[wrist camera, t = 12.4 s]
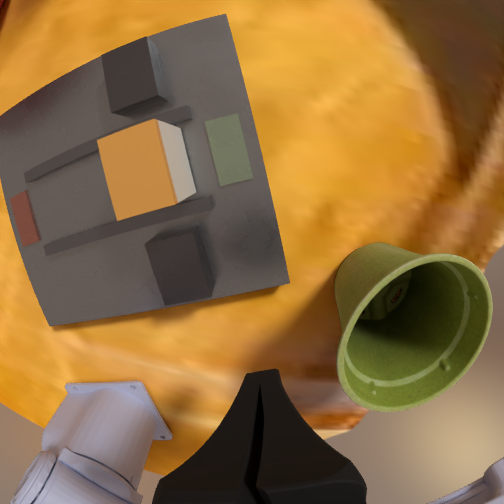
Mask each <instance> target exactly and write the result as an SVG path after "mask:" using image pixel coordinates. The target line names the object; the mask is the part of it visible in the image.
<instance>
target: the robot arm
mask: <svg viewBox="0 0 504 504" xmlns="http://www.w3.org/2000/svg"><path fill="white" fill-rule="evenodd" d="M133 386H135V387H133ZM65 389H66V390H67V392H68V394H67V396H66V397H65V399H64V400H63V402H62V403H61V405H60V406H59V408H58V409H57V411H56V412H55V414H54V415H53V417H52V418H51V420H50V421H49V423H48V424H47V426H46V427H45V429H44V432H43V437H42V450H43V451H41V452H40V453H39V454H38V455H37V456H36V458H35V459H34V460H33V462H32V463H31V465H30V466H29V468H28V469H27V471H26V472H25V474H24V476H23V477H22V479H21V481H20V483H19V485H18V487H17V489H16V491H15V493H14V497H13V499H12V500H11V502H10V504H141V502H142V498H143V496H142V495H140V494H138V493H137V488H138V485H139V481H140V479H141V475H142V472H143V469H144V466H145V463H146V460H147V457H148V453H149V450H150V447H151V444H152V441H153V440H171V439H172V437H173V435H172V433H171V432H170V430H169V428H168V427H167V425H166V423H165V422H164V420H163V418H162V417H161V415H160V413H159V411H158V410H157V408H156V406H155V404H154V403H153V401H152V399H151V397H150V395H149V394H148V392H147V390H146V388H145V386H144V384H143V383H142V382H140V381H124V382H101V383H67V384H66V385H65ZM366 493H367V487H366V483H365V481H364V479H363V477H362V476H361V474H360V473H359V471H358V470H357V468H356V467H355V466H354V465H353V463H352V462H351V461H350V460H349V459H348V458H346V457H344V456H343V455H342V454H340V453H339V452H337V451H336V450H335V449H333V448H332V447H331V446H330V445H328V444H327V443H326V442H325V441H324V440H323V439H322V438H321V437H320V436H319V435H317V434H316V433H315V432H314V431H313V429H312V428H311V427H310V426H309V425H308V424H307V423H306V422H305V420H304V419H303V418H302V417H301V415H300V414H299V413H298V411H297V410H296V408H295V407H294V405H293V404H292V402H291V401H290V399H289V397H288V395H287V393H286V392H285V390H284V388H283V385H282V382H281V378H280V374H279V370H277V369H270V370H265V371H259V372H253V373H247V374H246V376H245V378H244V380H243V383H242V385H241V387H240V390H239V392H238V394H237V396H236V398H235V400H234V402H233V404H232V405H231V407H230V409H229V411H228V412H227V414H226V416H225V417H224V419H223V420H222V422H221V423H220V425H219V426H218V428H217V429H216V430H215V432H214V433H213V434H212V435H211V437H210V438H209V439H208V440H207V441H206V442H205V443H204V445H203V446H202V447H201V448H200V449H199V450H198V451H197V452H196V453H195V454H194V455H193V456H191V457H190V458H189V459H188V460H187V461H186V462H184V463H183V464H182V465H181V466H179V467H178V468H177V469H175V470H174V471H172V472H171V473H169V474H168V475H166V476H165V477H163V478H162V479H160V480H159V483H158V485H157V488H156V490H155V494H154V497H153V501H152V504H366ZM428 504H504V457H503V458H502V459H500V460H498V461H497V462H495V463H494V464H492V465H491V466H490V467H489V468H488V469H487V470H486V472H485V473H484V476H483V477H482V478H480V479H478V480H476V481H474V482H473V483H471V484H469V485H467V486H465V487H463V488H461V489H459V490H457V491H455V492H453V493H450V494H448V495H446V496H444V497H442V498H439V499H437V500H435V501H432V502H430V503H428Z"/></svg>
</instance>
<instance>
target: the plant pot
mask: <svg viewBox="0 0 504 504" xmlns="http://www.w3.org/2000/svg"><path fill="white" fill-rule="evenodd" d="M400 288H401V293H400V295H399V297H398V298H397V299H396V301H394V302H393V303H391V300H392V299H393V298H394V296H395V295H396V294H397V292H398V291H399V289H400ZM334 292H335V298H336V303H337V308H338V312H339V317H340V323H341V328H342V334H341V337H340V340H339V344H338V349H337V356H336V368H337V374H338V378H339V381H340V384H341V386H342V388H343V390H344V392H345V393H346V394H347V395H348V397H349V398H350V399H351V400H353V401H354V402H355V403H356V404H358V405H360V406H361V407H364V408H366V409H370V410H373V411H378V412H397V411H402V410H408V409H411V408H414V407H417V406H420V405H423V404H425V403H427V402H429V401H431V400H433V399H435V398H436V397H438V396H439V395H441V394H442V393H444V392H445V391H447V390H448V389H449V388H451V387H452V386H453V385H454V384H455V383H456V382H457V381H458V380H459V379H460V378H461V377H462V376H463V375H464V374H465V373H466V372H467V370H468V369H469V368H470V367H471V365H472V364H473V362H474V361H475V360H476V358H477V356H478V355H479V353H480V351H481V349H482V347H483V345H484V342H485V340H486V337H487V334H488V332H489V328H490V325H491V319H492V308H493V304H492V297H491V292H490V288H489V285H488V282H487V280H486V278H485V276H484V274H483V273H482V272H481V270H480V269H479V268H478V267H477V266H475V265H474V264H473V263H472V262H470V261H468V260H467V259H465V258H462V257H460V256H457V255H453V254H447V253H434V254H428V255H419V254H416V253H413V252H410V251H407V250H405V249H402V248H399V247H396V246H393V245H390V244H386V243H373V244H369V245H366V246H363V247H361V248H358V249H356V250H355V251H353V252H352V253H351V254H350V255H349V256H348V257H347V258H346V259H345V260H344V261H343V263H342V264H341V266H340V268H339V270H338V272H337V275H336V279H335V284H334ZM362 311H365V313H363V314H361V313H362Z"/></svg>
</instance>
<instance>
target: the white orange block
mask: <svg viewBox="0 0 504 504" xmlns="http://www.w3.org/2000/svg"><path fill="white" fill-rule="evenodd" d="M97 143H98V147H99V152H100V156H101V161H102V165H103V169H104V173H105V177H106V181H107V185H108V189H109V193H110V197H111V200H112V204H113V207H114V211H115V215H116V218H117V221H119V220H122V219H126V218H129V217H133V216H136V215H140V214H143V213H147V212H150V211H154V210H157V209H161V208H164V207H168V206H172V205H175V204H177V203H179V202H181V201H182V200H184V199H186V198H187V197H189V196H191V195H193V194H194V193H196V189H195V185H194V181H193V177H192V173H191V169H190V165H189V161H188V157H187V153H186V149H185V145H184V141H183V136H182V132H181V128H178V127H176V126H173V125H170V124H168V123H165V122H162V121H159V120H157V119H152V120H149V121H146V122H143V123H140V124H137V125H135V126H132V127H129V128H127V129H124V130H121V131H119V132H116V133H114V134H111V135H109V136H106V137H104V138H101V139H99V140H97Z"/></svg>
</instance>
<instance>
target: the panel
mask: <svg viewBox="0 0 504 504" xmlns="http://www.w3.org/2000/svg"><path fill="white" fill-rule="evenodd" d="M152 119H157V120H159V121H162V122H165V123H168V124H170V125H173V126H176V127H178V128H181V132H182V136H183V141H184V145H185V149H186V153H187V157H188V161H189V165H190V169H191V173H192V177H193V181H194V185H195V189H196V193H194V194H193V195H191V196H189V197H187V198H186V199H184V200H182V201H181V202H179V203H177V204H175V205H172V206H168V207H164V208H161V209H157V210H154V211H150V212H147V213H143V214H140V215H136V216H133V217H129V218H126V219H122V220H119V221H117V218H116V215H115V211H114V207H113V204H112V200H111V197H110V193H109V189H108V185H107V181H106V177H105V173H104V169H103V165H102V161H101V156H100V152H99V147H98V143H97V140H99V139H101V138H104V137H106V136H109V135H111V134H114V133H116V132H119V131H121V130H124V129H127V128H129V127H132V126H135V125H137V124H140V123H143V122H146V121H149V120H152ZM0 178H1V183H2V188H3V192H4V197H5V201H6V205H7V209H8V213H9V217H10V221H11V224H12V228H13V231H14V235H15V238H16V241H17V244H18V248H19V251H20V254H21V257H22V260H23V262H24V265H25V268H26V271H27V274H28V276H29V279H30V282H31V284H32V287H33V289H34V292H35V294H36V297H37V299H38V301H39V304H40V306H41V308H42V311H43V313H44V315H45V317H46V320H47V322H48V324H49V326H55V325H62V324H69V323H76V322H83V321H89V320H96V319H102V318H109V317H115V316H121V315H127V314H133V313H139V312H145V311H151V310H156V309H162V308H168V307H173V306H179V305H184V304H190V303H195V302H200V301H206V300H211V299H216V298H221V297H226V296H231V295H236V294H241V293H246V292H251V291H256V290H261V289H265V288H270V287H275V286H280V285H284V284H289V283H290V281H289V276H288V271H287V266H286V261H285V257H284V252H283V247H282V242H281V238H280V233H279V228H278V224H277V219H276V215H275V210H274V205H273V201H272V197H271V192H270V188H269V183H268V179H267V174H266V170H265V166H264V162H263V157H262V153H261V149H260V145H259V140H258V136H257V132H256V128H255V124H254V120H253V116H252V111H251V107H250V103H249V99H248V95H247V91H246V88H245V84H244V80H243V76H242V72H241V68H240V64H239V60H238V57H237V53H236V49H235V45H234V42H233V38H232V34H231V30H230V27H229V23H228V20H227V16H226V14H223V15H218V16H214V17H210V18H206V19H203V20H199V21H195V22H192V23H188V24H185V25H182V26H178V27H175V28H172V29H169V30H166V31H163V32H160V33H157V34H154V35H151V36H149V37H147V36H146V37H144V38H141V39H138V40H136V41H133V42H131V43H128V44H126V45H123V46H121V47H119V48H116V49H114V50H112V51H109V52H107V53H105V54H103V55H101V56H100V57H98V58H96V59H94V60H92V61H90V62H88V63H86V64H84V65H82V66H80V67H78V68H76V69H74V70H72V71H71V72H69V73H67V74H65V75H63V76H61V77H60V78H58V79H56V80H54V81H53V82H51V83H49V84H48V85H46V86H44V87H43V88H41V89H39V90H38V91H36V92H35V93H33V94H31V95H30V96H28V97H27V98H25V99H24V100H22V101H21V102H19V103H18V104H16V105H15V106H13V107H12V108H11V109H9V110H8V111H6V112H5V113H4V114H2V115H1V116H0Z"/></svg>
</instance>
